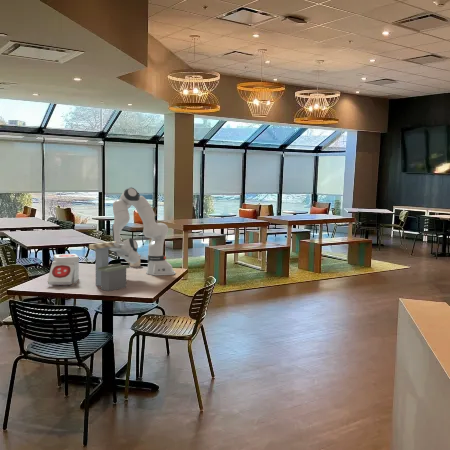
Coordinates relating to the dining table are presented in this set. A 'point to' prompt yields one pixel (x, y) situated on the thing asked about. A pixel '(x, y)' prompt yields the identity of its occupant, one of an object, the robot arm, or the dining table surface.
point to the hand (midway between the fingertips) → (110, 243)
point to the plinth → (101, 262)
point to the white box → (64, 269)
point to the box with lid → (113, 276)
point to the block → (101, 245)
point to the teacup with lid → (134, 263)
